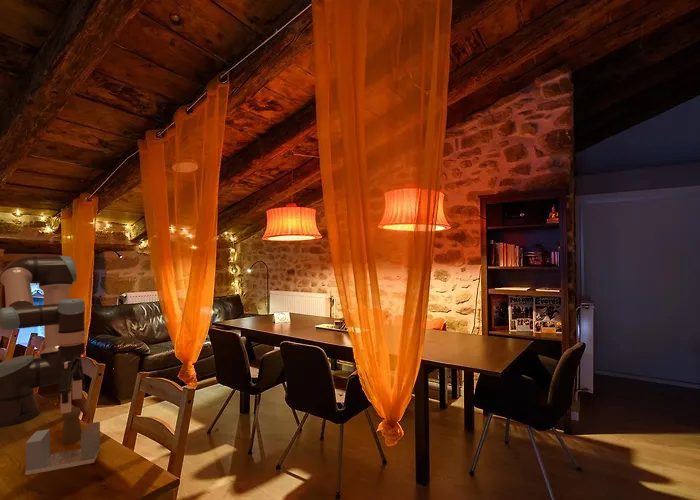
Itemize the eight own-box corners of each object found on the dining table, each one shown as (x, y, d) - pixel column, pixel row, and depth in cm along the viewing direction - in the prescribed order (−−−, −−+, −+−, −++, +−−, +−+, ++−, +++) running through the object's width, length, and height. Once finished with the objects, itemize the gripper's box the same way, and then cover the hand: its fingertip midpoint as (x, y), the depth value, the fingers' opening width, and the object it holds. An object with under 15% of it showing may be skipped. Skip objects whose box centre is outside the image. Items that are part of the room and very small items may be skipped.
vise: (36, 459, 119) (36, 430, 120) (100, 448, 126) (100, 421, 126) (25, 475, 111) (25, 443, 111) (94, 462, 118) (94, 432, 118)
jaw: (36, 456, 119) (36, 431, 119) (49, 454, 120) (49, 429, 120) (25, 470, 112) (25, 442, 112) (40, 467, 113) (40, 440, 113)
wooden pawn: (85, 438, 133) (85, 407, 133) (65, 446, 128) (65, 413, 128) (77, 434, 136) (77, 403, 136) (57, 441, 131) (57, 409, 131)
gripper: (74, 350, 122) (74, 416, 122) (92, 336, 145) (93, 392, 145) (45, 353, 119) (45, 421, 119) (69, 338, 142) (69, 395, 142)
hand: (71, 405), depth 132 cm, fingers open, 13 cm apart
